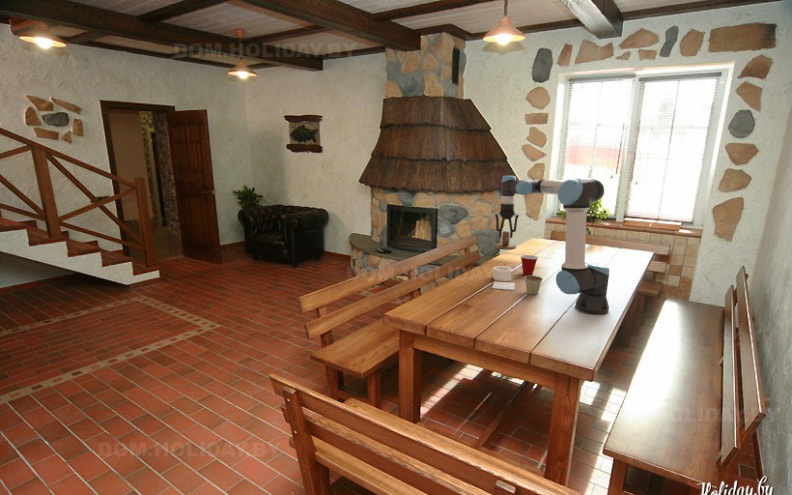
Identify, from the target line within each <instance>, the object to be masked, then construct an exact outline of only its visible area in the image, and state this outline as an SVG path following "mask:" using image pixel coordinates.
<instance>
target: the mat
mask: <svg viewBox="0 0 792 495" xmlns="http://www.w3.org/2000/svg"><path fill="white" fill-rule="evenodd" d="M492 288H493V289H494V290H501V289H503V290H502V291H511V290H513V291H515V288H516V283H515V282H509V281H497V280H494V281H493V283H492ZM492 288H491V289H492Z"/></svg>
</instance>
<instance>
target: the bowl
mask: <svg viewBox="0 0 792 495" xmlns="http://www.w3.org/2000/svg"><path fill="white" fill-rule="evenodd" d="M492 274H493V275H492V279H493V280H494V281H497V282H509V281H511V279H512V268H511V267H509V266H505V265H504V266H503V265H497V266H493V272H492Z"/></svg>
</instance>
